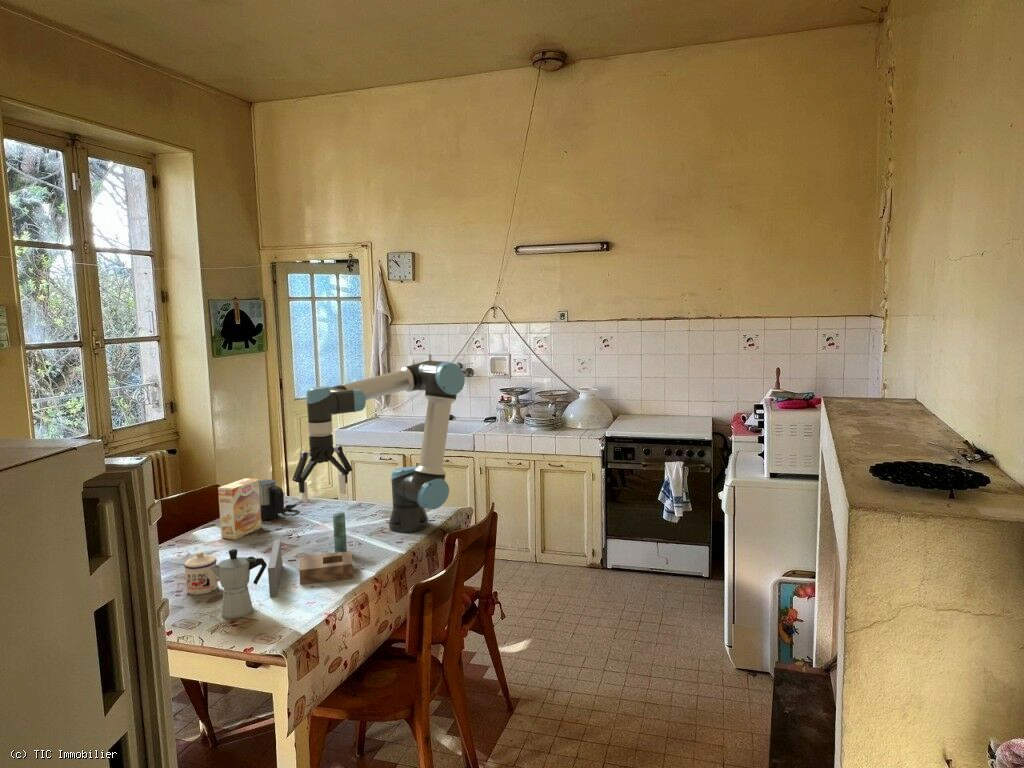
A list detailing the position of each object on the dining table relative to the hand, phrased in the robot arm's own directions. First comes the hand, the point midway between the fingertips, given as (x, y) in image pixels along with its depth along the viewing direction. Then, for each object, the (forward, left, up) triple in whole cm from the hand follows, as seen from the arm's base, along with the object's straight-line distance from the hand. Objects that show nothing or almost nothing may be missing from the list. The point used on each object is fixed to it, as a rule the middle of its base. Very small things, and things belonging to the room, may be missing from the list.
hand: (324, 497), depth 227 cm
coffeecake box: (+32, -43, -22) cm, 58 cm away
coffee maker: (+24, +31, -22) cm, 45 cm away
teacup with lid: (+36, +11, -22) cm, 44 cm away
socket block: (0, +11, -22) cm, 25 cm away
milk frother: (+21, -63, -22) cm, 70 cm away
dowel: (-4, -7, -22) cm, 24 cm away
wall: (+16, +11, -22) cm, 29 cm away
